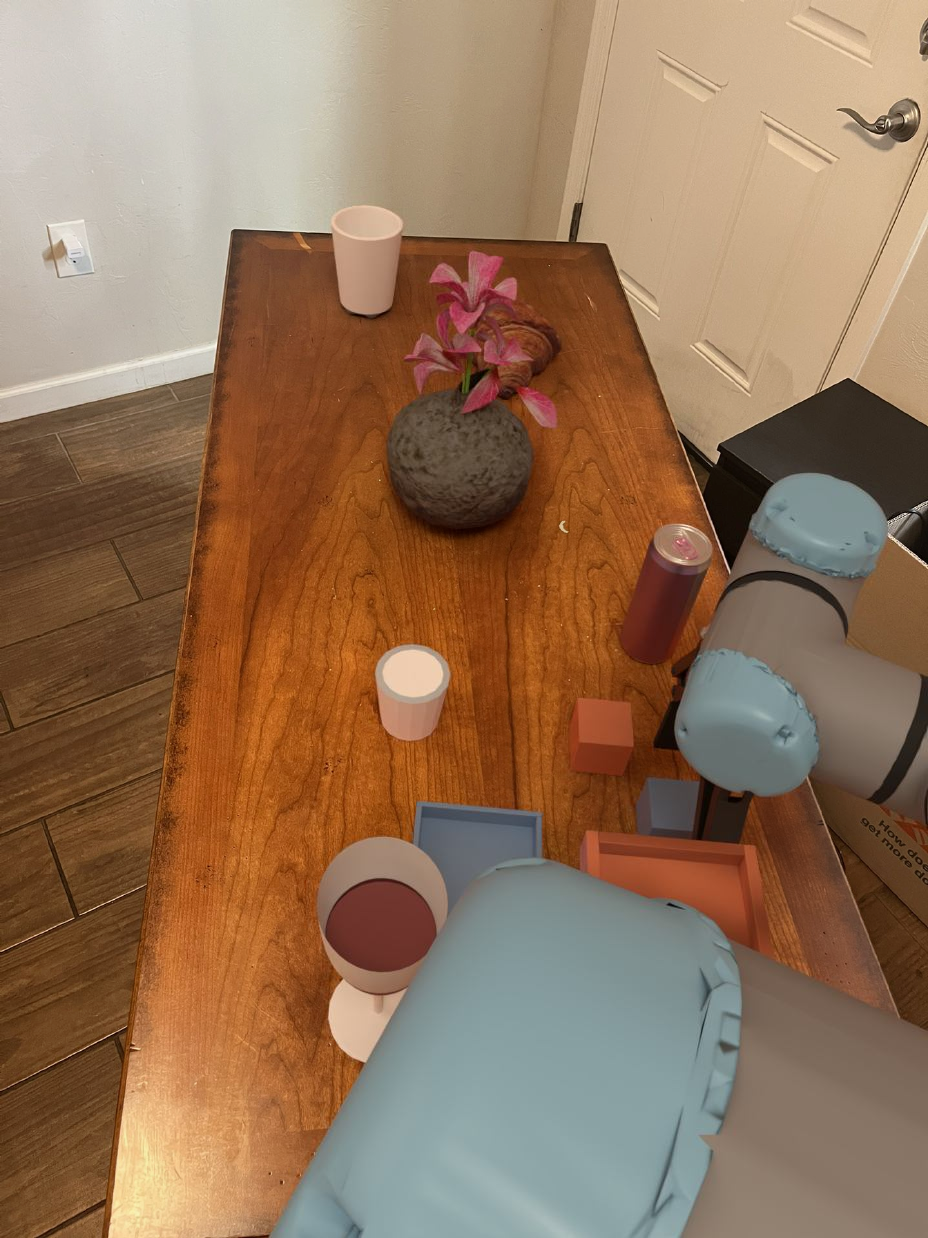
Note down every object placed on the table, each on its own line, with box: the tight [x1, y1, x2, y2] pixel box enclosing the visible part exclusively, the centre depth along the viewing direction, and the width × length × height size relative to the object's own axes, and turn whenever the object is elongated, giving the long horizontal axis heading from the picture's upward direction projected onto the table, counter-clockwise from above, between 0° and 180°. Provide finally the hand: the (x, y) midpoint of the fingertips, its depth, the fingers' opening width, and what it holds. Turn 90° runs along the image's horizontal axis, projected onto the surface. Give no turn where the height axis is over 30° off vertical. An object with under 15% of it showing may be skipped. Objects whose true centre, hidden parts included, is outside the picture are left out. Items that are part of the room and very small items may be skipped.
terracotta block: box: [568, 697, 635, 777], centre depth 88 cm, size 5×5×5 cm
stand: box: [578, 829, 775, 960], centre depth 65 cm, size 11×11×22 cm
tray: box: [412, 800, 543, 919], centre depth 80 cm, size 11×11×2 cm
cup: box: [330, 204, 404, 320], centre depth 133 cm, size 10×10×13 cm
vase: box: [386, 250, 558, 530], centre depth 100 cm, size 17×17×30 cm
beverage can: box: [619, 522, 714, 665], centre depth 94 cm, size 6×6×15 cm
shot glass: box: [374, 643, 451, 742], centre depth 88 cm, size 7×7×7 cm
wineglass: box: [316, 836, 448, 1064], centre depth 65 cm, size 8×9×20 cm
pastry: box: [465, 298, 563, 400], centre depth 129 cm, size 17×15×8 cm
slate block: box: [635, 776, 700, 840], centre depth 83 cm, size 5×5×5 cm
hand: (674, 812), depth 83 cm, fingers open, 13 cm apart
